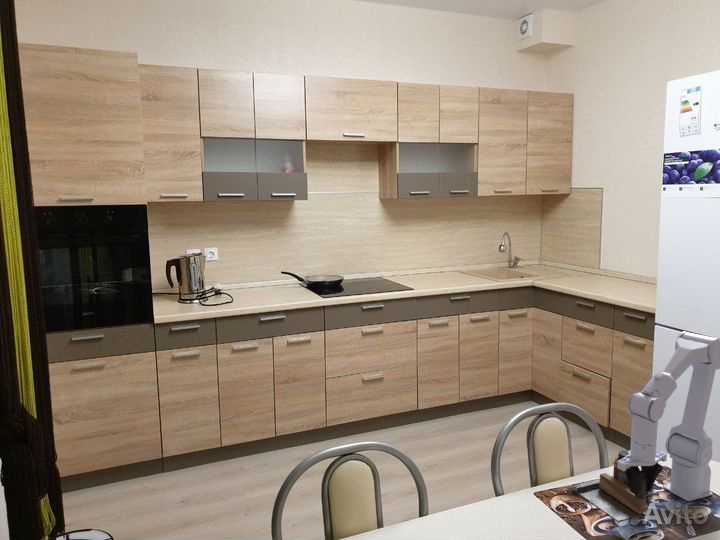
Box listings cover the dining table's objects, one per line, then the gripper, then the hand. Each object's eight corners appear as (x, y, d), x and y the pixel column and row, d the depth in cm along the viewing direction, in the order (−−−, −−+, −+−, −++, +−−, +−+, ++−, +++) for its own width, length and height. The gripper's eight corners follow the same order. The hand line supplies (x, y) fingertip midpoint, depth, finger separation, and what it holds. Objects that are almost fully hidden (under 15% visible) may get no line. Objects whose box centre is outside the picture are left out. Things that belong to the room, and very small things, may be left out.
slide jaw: (605, 486, 152) (607, 455, 151) (646, 512, 139) (648, 479, 138) (598, 487, 151) (600, 457, 150) (639, 514, 138) (641, 481, 137)
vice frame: (624, 477, 157) (625, 463, 157) (672, 506, 143) (673, 490, 142) (573, 490, 151) (573, 475, 150) (618, 521, 136) (619, 504, 136)
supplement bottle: (639, 498, 146) (641, 459, 145) (615, 496, 148) (617, 457, 146) (633, 487, 152) (635, 449, 151) (610, 485, 153) (612, 447, 152)
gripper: (651, 430, 144) (648, 478, 145) (608, 439, 139) (606, 488, 140) (675, 441, 137) (671, 491, 139) (631, 450, 132) (628, 503, 134)
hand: (640, 491), depth 139 cm, fingers open, 4 cm apart
